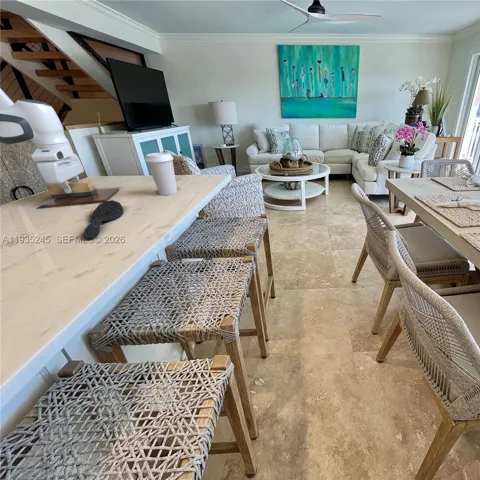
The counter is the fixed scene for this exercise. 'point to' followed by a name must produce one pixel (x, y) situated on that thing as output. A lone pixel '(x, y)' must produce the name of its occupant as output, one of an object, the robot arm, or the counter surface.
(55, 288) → the counter surface
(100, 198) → the walnut board
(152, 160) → the coffee cup
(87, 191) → the scrub brush
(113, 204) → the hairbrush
